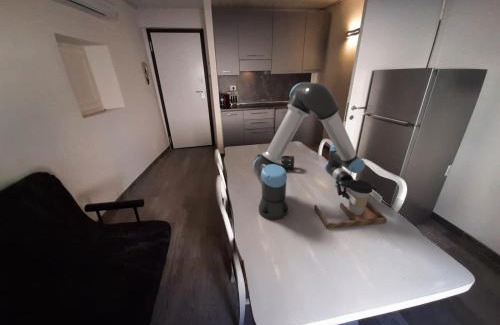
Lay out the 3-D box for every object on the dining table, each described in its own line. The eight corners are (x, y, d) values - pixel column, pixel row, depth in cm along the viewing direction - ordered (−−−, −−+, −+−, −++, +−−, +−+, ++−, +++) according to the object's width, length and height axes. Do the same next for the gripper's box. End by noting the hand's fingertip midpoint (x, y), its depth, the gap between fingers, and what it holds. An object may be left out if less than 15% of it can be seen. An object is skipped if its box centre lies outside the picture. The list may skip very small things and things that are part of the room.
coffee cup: (348, 203, 101) (352, 177, 96) (368, 210, 96) (375, 183, 90) (342, 212, 95) (347, 185, 89) (364, 220, 89) (371, 191, 83)
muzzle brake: (293, 172, 139) (294, 158, 134) (254, 170, 144) (253, 157, 140) (293, 166, 147) (294, 153, 143) (256, 164, 152) (256, 152, 148)
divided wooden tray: (325, 228, 88) (326, 224, 87) (313, 209, 101) (314, 205, 100) (385, 223, 90) (387, 218, 89) (366, 204, 102) (367, 200, 101)
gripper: (362, 181, 110) (391, 205, 90) (320, 185, 108) (340, 210, 88) (364, 169, 107) (395, 191, 87) (322, 173, 105) (343, 196, 85)
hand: (367, 201), depth 87 cm, fingers open, 11 cm apart
